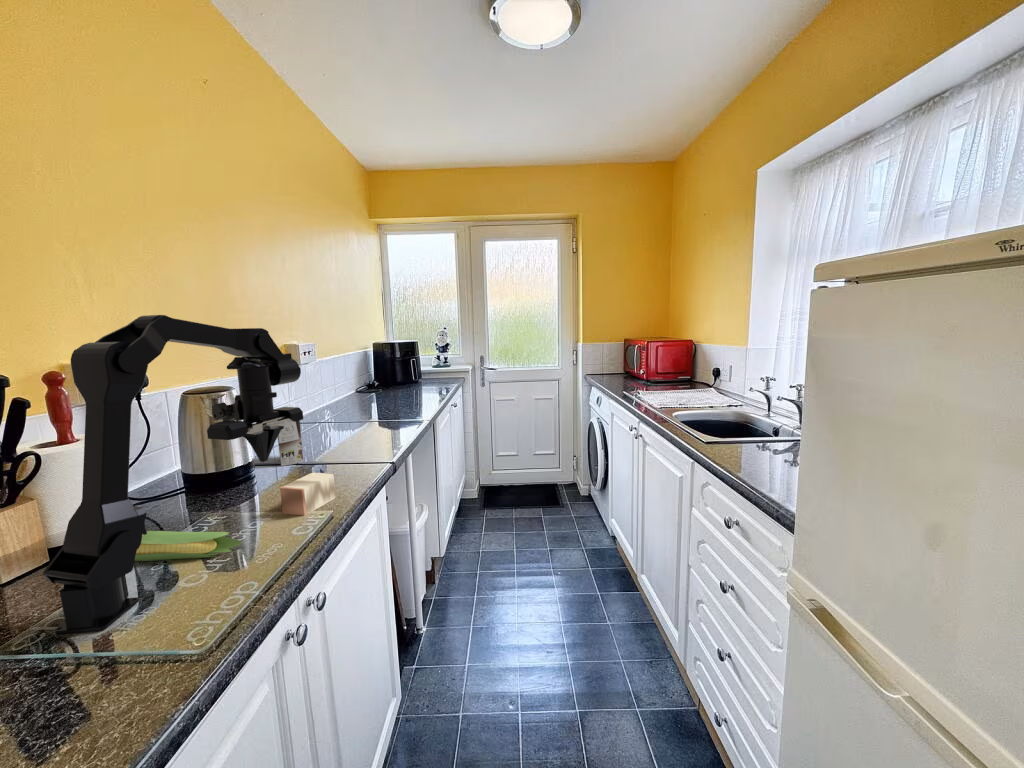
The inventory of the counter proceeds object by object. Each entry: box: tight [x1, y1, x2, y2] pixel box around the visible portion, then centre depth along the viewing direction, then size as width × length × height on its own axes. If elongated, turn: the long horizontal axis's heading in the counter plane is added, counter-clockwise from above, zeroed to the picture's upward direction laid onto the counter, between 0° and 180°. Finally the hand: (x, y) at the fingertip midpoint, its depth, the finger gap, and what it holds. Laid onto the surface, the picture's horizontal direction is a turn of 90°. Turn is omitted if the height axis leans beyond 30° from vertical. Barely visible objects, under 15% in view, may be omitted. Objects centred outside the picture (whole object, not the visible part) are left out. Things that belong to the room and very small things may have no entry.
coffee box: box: [277, 419, 304, 467], centre depth 131 cm, size 9×6×16 cm
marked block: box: [279, 472, 336, 517], centre depth 98 cm, size 6×6×10 cm
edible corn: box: [134, 530, 242, 562], centre depth 77 cm, size 5×20×5 cm
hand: (263, 461), depth 89 cm, fingers closed
